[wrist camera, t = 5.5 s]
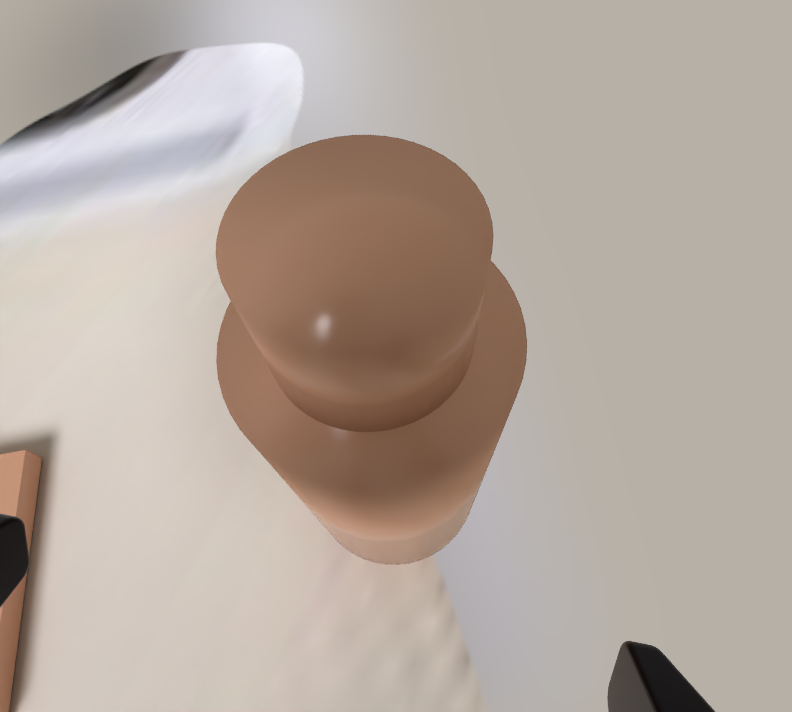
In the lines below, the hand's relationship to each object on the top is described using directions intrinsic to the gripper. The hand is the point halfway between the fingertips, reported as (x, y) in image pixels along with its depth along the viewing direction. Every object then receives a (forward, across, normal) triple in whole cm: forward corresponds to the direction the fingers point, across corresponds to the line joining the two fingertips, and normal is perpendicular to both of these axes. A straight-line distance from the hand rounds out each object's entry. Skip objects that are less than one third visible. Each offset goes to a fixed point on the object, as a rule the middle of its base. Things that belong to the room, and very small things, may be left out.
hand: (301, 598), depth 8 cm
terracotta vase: (+12, 0, +5) cm, 13 cm away
